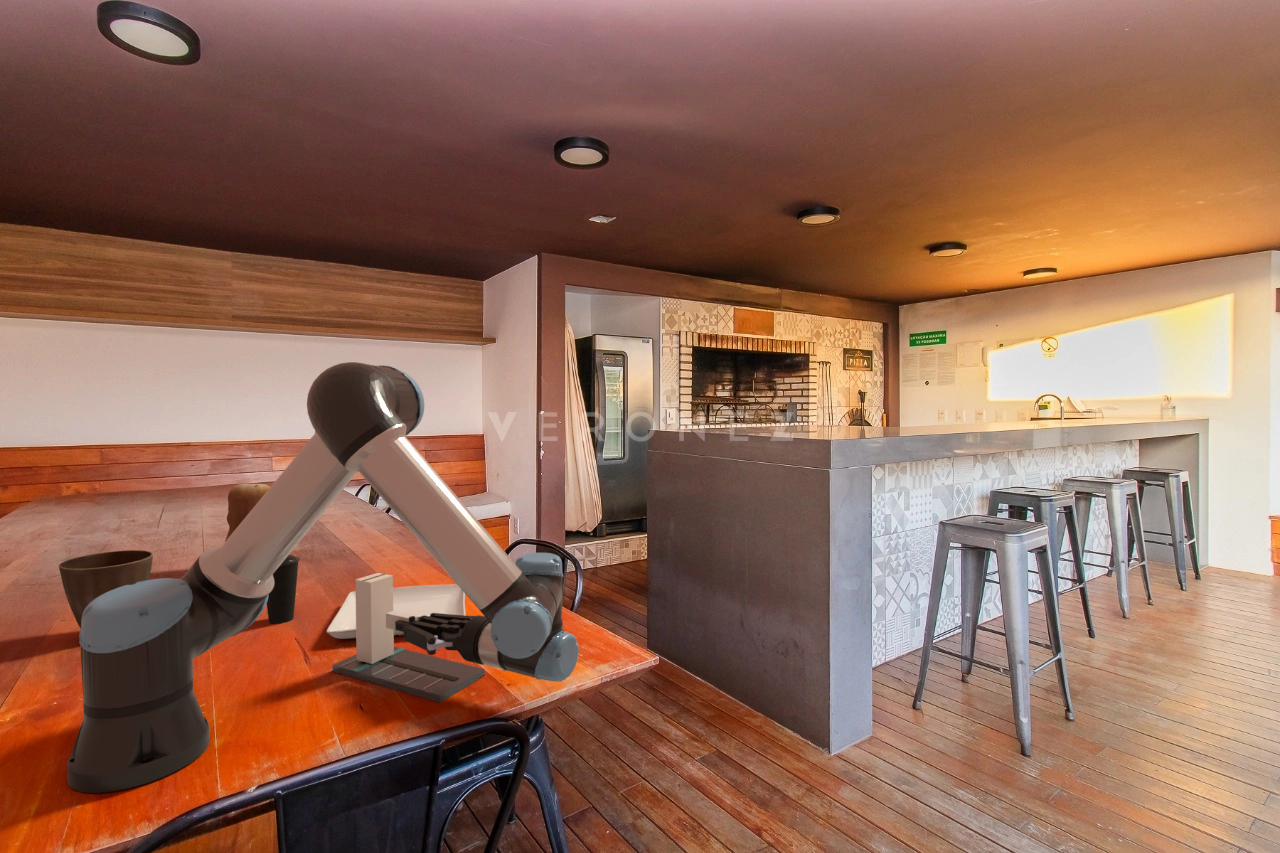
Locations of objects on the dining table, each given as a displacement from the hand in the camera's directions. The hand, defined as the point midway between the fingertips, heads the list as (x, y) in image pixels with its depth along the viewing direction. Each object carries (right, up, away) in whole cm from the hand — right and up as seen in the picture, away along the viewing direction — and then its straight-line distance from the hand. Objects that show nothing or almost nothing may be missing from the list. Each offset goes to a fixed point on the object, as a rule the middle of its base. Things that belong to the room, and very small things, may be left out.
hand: (389, 619), depth 112 cm
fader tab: (-3, -8, +2) cm, 9 cm away
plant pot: (-66, -8, +16) cm, 68 cm away
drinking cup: (-34, -8, +25) cm, 43 cm away
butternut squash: (-68, -6, +67) cm, 96 cm away
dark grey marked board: (+4, -9, -2) cm, 10 cm away
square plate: (-7, -9, +26) cm, 29 cm away
